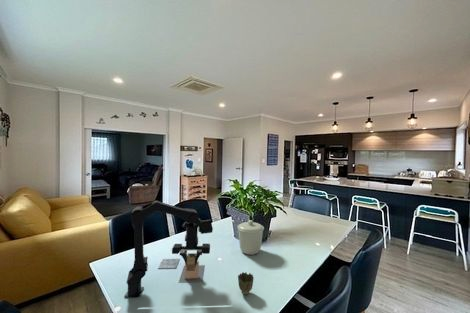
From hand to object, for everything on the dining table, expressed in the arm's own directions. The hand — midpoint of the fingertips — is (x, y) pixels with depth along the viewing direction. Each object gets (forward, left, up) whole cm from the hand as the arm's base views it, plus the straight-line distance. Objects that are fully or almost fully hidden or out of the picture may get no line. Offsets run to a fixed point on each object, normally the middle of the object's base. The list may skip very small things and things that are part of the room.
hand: (191, 265), depth 106 cm
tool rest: (+16, +15, -8) cm, 24 cm away
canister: (+32, -35, -9) cm, 48 cm away
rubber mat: (+6, 0, -8) cm, 11 cm away
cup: (-10, -27, -9) cm, 30 cm away
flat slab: (+2, 0, -8) cm, 8 cm away
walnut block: (0, 0, -2) cm, 2 cm away
